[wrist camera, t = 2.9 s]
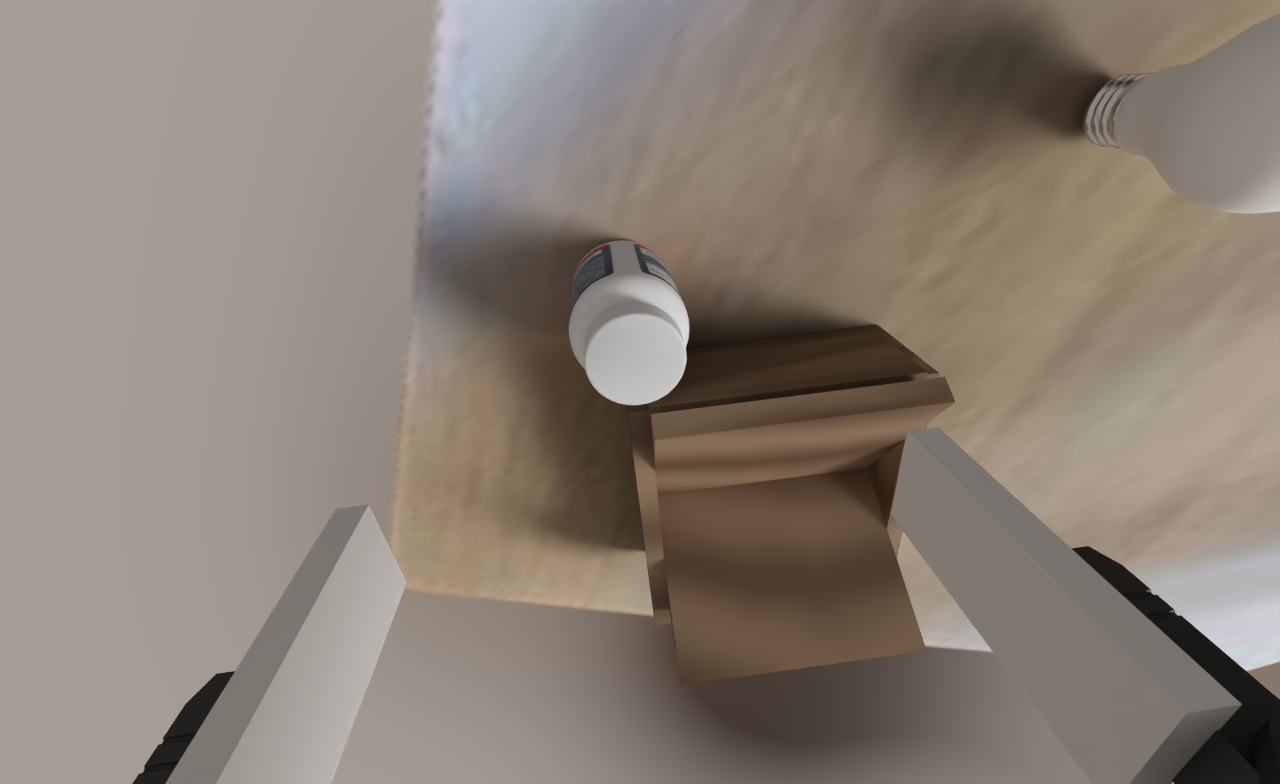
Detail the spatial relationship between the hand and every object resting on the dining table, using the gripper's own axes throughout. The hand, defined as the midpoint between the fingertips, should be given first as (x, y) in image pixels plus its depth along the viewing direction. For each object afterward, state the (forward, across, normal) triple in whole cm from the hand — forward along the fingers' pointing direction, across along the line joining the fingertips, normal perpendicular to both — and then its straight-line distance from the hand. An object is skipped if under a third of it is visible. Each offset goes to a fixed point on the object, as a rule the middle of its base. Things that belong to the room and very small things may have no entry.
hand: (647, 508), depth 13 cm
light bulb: (+17, +24, +6) cm, 30 cm away
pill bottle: (+17, 0, 0) cm, 17 cm away
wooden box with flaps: (+17, +7, -12) cm, 22 cm away
